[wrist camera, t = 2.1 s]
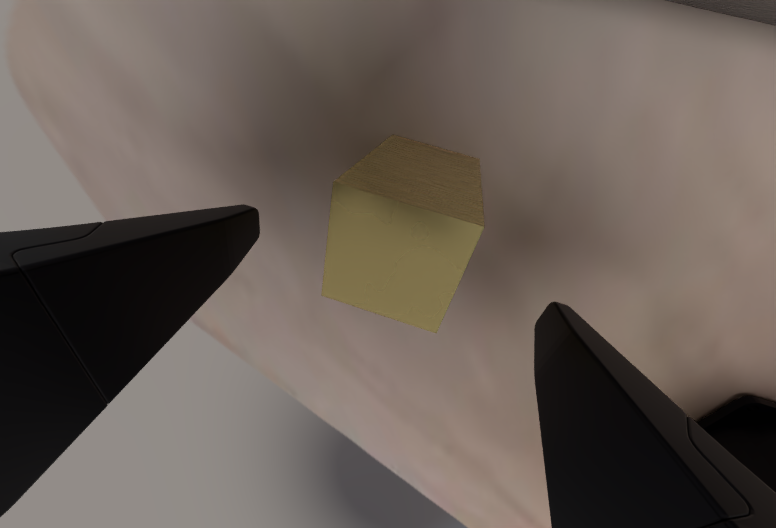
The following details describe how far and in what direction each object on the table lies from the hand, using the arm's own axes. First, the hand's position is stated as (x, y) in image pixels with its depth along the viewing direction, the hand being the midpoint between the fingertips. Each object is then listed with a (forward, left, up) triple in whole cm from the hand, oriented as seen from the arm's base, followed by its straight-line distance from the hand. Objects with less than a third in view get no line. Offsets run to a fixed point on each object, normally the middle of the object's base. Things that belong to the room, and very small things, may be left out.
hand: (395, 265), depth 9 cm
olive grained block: (0, 0, -7) cm, 7 cm away
